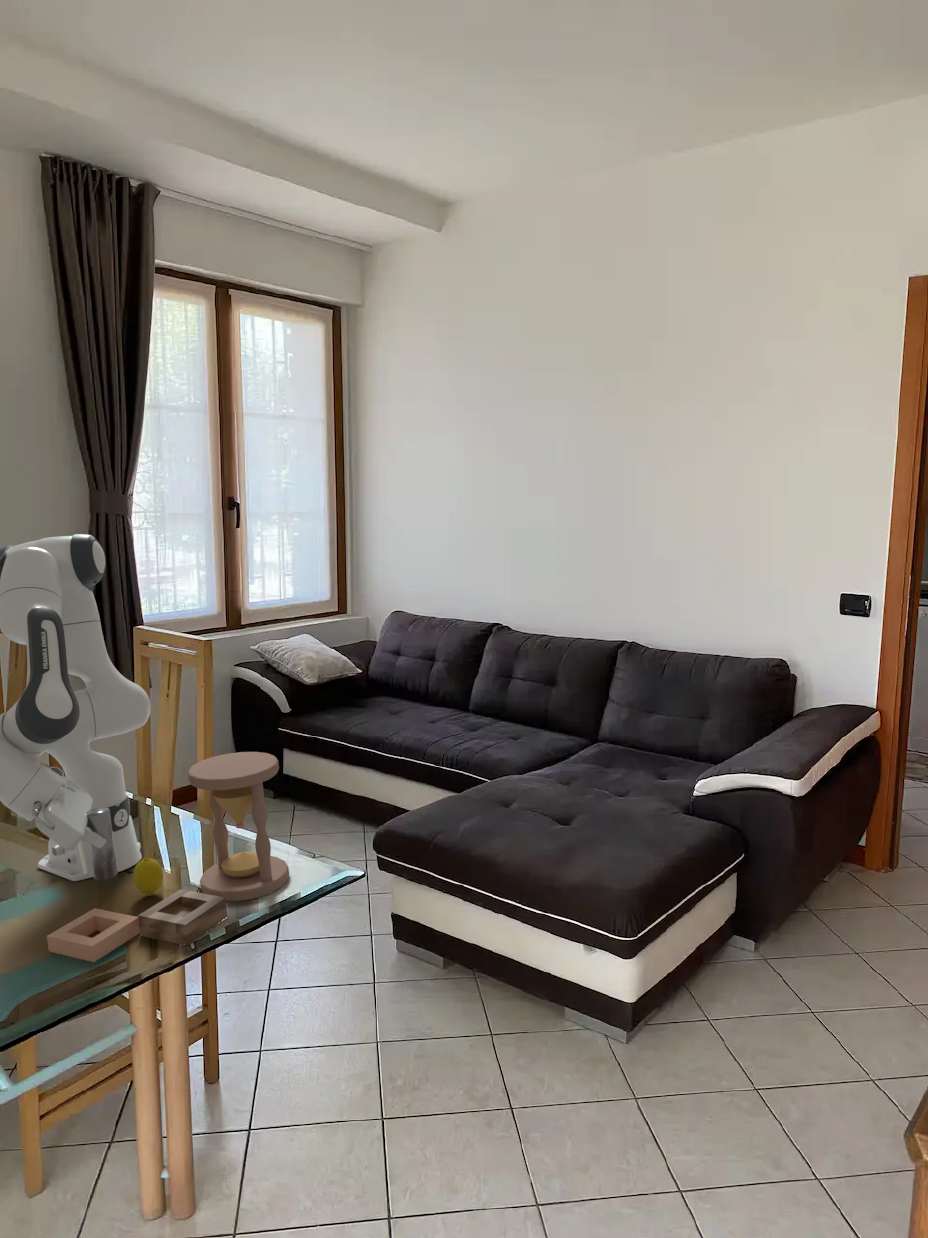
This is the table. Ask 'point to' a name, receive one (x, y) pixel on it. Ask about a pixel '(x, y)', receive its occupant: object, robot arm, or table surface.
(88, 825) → the steel peg
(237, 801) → the hourglass
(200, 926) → the square peg hole block
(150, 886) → the lemon
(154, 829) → the table surface
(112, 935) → the socket collar
